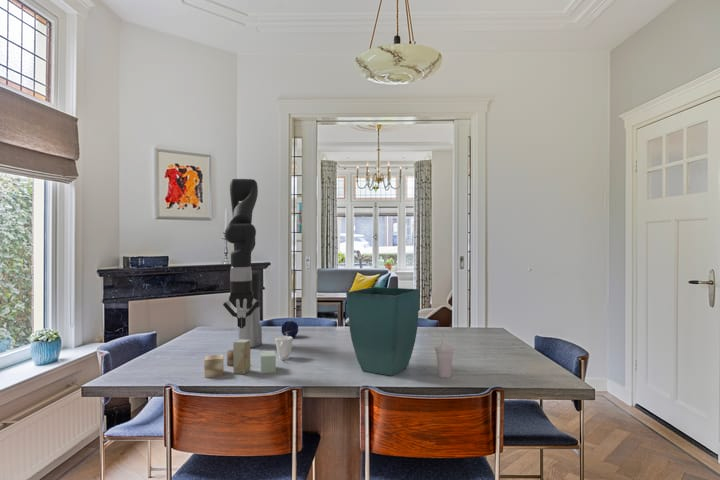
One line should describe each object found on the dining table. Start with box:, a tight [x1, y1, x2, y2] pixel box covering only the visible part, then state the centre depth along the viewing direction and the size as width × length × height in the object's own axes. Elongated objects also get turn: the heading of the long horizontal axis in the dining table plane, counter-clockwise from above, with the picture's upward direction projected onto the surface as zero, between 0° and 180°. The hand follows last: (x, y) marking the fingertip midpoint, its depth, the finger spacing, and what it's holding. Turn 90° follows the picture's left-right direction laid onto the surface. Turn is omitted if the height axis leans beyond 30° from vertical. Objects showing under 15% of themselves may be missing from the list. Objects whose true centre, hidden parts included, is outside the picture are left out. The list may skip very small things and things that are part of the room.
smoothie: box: [434, 333, 455, 379], centre depth 146 cm, size 6×6×14 cm
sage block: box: [259, 350, 277, 374], centre depth 156 cm, size 5×7×6 cm
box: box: [232, 339, 251, 375], centre depth 154 cm, size 5×4×11 cm
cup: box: [275, 335, 294, 361], centre depth 170 cm, size 7×10×8 cm
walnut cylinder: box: [226, 349, 233, 367], centre depth 164 cm, size 5×5×5 cm
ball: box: [281, 320, 299, 338], centre depth 210 cm, size 8×8×8 cm
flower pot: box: [345, 286, 421, 376], centre depth 154 cm, size 20×20×28 cm
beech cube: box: [204, 354, 224, 378], centre depth 152 cm, size 6×6×6 cm
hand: (241, 327), depth 154 cm, fingers closed
